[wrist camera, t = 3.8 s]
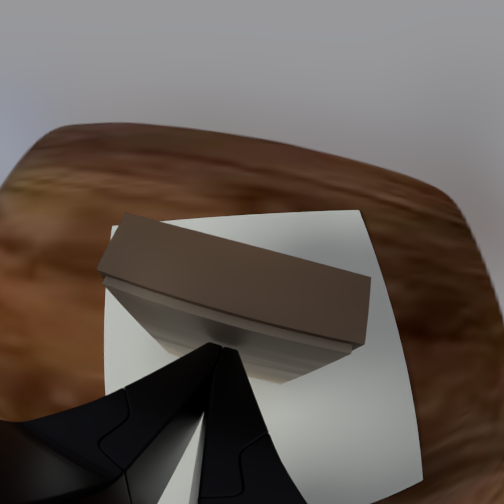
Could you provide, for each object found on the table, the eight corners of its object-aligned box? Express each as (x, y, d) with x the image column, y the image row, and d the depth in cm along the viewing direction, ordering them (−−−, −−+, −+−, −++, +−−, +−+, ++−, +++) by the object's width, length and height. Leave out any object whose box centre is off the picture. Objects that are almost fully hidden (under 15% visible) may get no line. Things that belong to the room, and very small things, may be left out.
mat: (417, 478, 11) (422, 480, 11) (131, 529, 9) (128, 533, 8) (355, 215, 20) (358, 210, 19) (115, 231, 17) (112, 226, 17)
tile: (284, 385, 13) (363, 353, 6) (165, 352, 14) (92, 277, 6) (291, 351, 14) (371, 276, 6) (176, 319, 15) (125, 212, 7)
